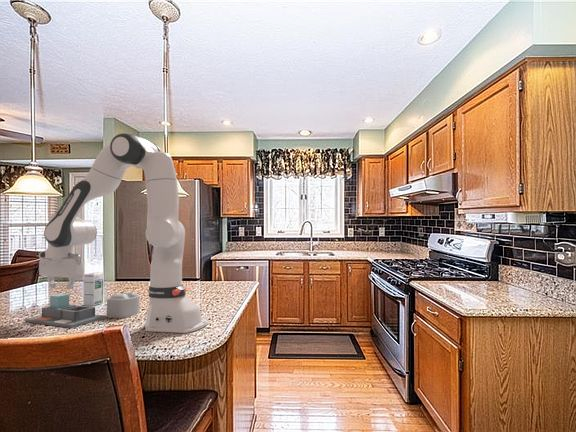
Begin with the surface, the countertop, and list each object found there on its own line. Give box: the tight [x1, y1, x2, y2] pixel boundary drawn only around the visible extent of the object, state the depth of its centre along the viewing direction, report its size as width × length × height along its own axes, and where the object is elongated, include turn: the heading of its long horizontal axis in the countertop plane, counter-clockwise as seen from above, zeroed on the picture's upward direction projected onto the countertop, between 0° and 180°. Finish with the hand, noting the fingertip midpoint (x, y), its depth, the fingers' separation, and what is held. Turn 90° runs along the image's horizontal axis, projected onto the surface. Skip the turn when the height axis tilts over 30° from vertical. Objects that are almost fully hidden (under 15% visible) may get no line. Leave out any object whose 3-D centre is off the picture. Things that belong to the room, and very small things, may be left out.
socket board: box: [24, 304, 106, 329], centre depth 131 cm, size 24×14×4 cm, turn 70°
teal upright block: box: [49, 293, 70, 309], centre depth 134 cm, size 4×4×8 cm
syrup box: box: [83, 271, 104, 307], centre depth 159 cm, size 6×6×14 cm
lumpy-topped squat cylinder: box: [106, 291, 141, 319], centre depth 141 cm, size 10×13×9 cm
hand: (61, 288), depth 134 cm, fingers open, 8 cm apart
